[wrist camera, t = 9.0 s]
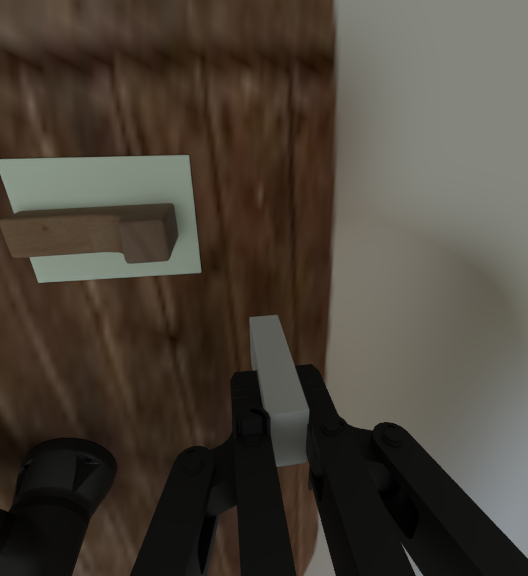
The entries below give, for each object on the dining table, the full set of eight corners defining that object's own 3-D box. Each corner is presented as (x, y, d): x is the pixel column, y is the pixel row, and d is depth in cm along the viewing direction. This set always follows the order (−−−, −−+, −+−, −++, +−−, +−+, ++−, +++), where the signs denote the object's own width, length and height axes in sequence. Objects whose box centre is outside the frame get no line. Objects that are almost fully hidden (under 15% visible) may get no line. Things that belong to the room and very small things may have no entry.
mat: (40, 280, 43) (38, 282, 42) (-2, 159, 36) (-5, 159, 36) (201, 271, 45) (201, 272, 44) (189, 154, 38) (188, 155, 38)
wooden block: (162, 219, 32) (-35, 231, 30) (170, 262, 34) (-15, 275, 32) (174, 202, 40) (18, 210, 38) (179, 237, 42) (31, 246, 40)
